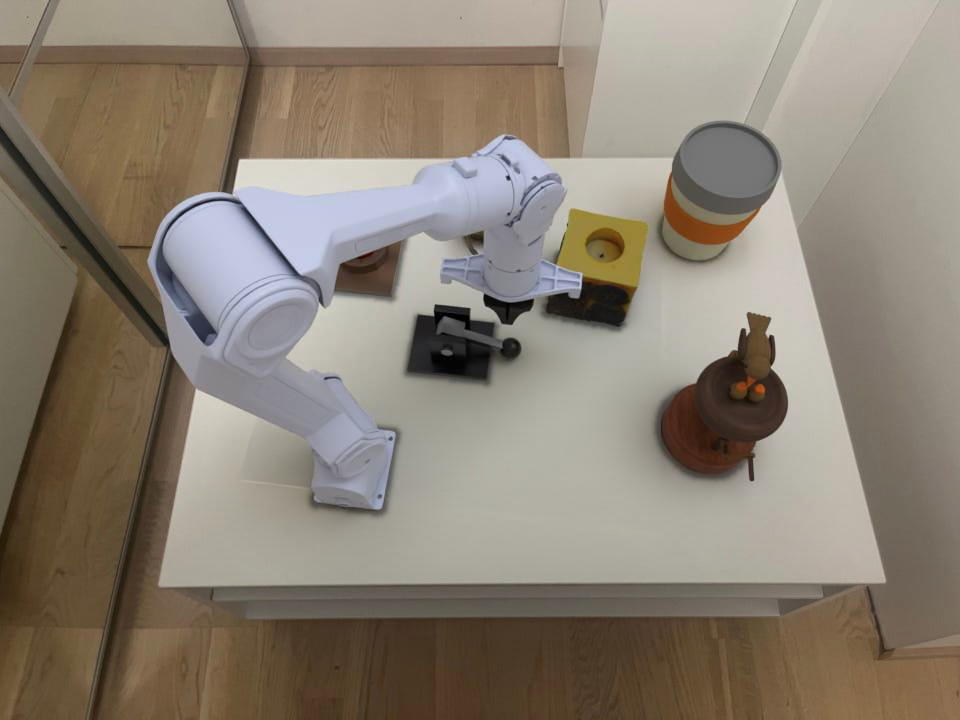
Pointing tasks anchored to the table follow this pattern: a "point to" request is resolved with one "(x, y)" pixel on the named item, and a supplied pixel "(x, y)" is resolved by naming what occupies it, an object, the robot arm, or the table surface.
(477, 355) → the bracket
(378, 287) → the button block
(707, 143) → the reusable coffee cup
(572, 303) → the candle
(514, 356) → the lever
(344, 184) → the table surface
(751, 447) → the music box
